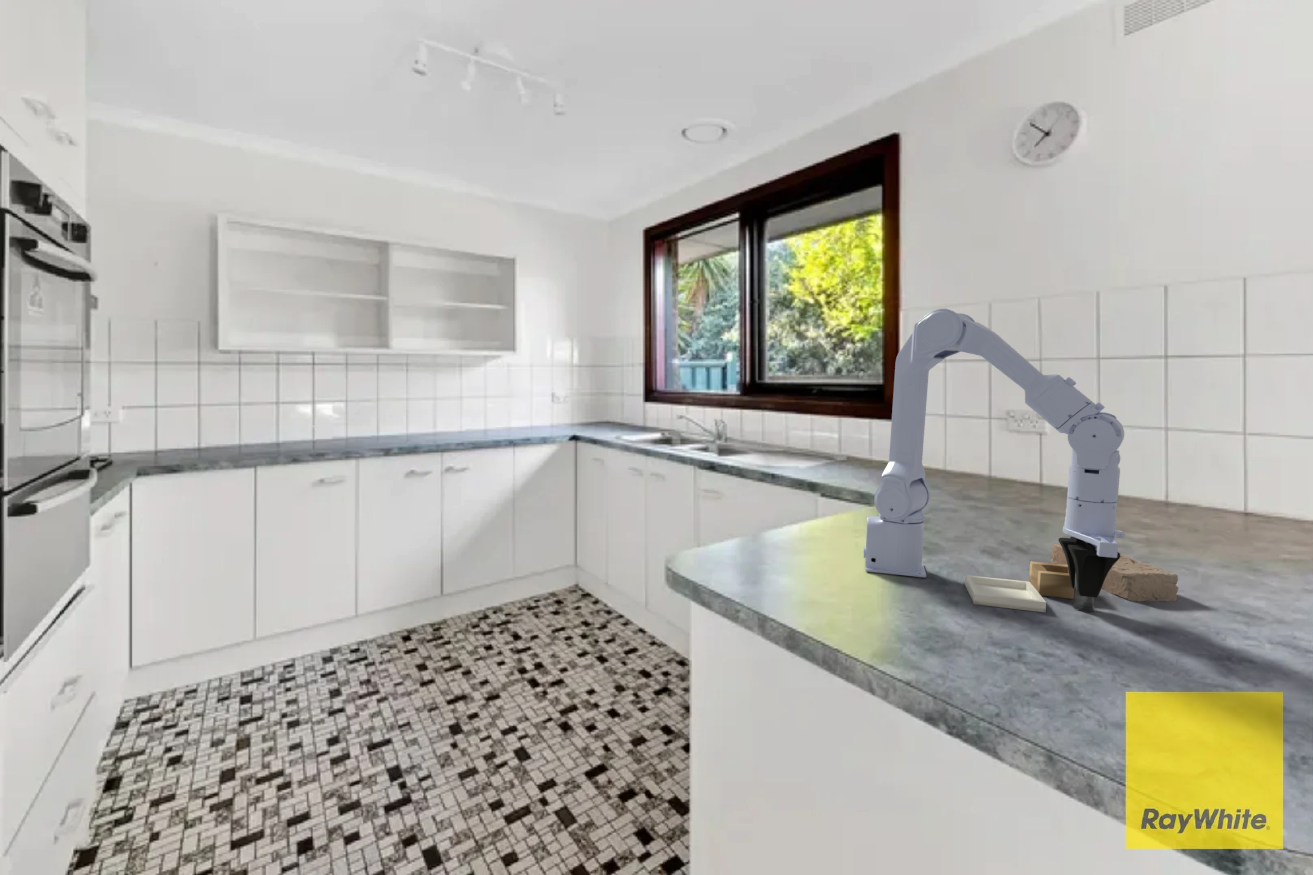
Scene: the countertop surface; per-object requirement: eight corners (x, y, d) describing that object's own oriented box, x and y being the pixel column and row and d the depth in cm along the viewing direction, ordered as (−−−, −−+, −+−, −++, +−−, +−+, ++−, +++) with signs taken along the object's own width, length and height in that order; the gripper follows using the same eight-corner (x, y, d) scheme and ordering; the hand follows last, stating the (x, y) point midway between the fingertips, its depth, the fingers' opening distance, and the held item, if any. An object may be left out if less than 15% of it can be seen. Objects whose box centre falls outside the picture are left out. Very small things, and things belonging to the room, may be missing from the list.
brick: (1181, 602, 88) (1184, 571, 87) (1127, 603, 87) (1130, 572, 87) (1093, 567, 104) (1095, 541, 104) (1047, 568, 104) (1049, 542, 103)
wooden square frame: (1038, 595, 89) (1040, 572, 89) (1028, 582, 95) (1030, 561, 95) (1085, 600, 87) (1087, 577, 87) (1072, 586, 93) (1073, 565, 93)
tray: (973, 604, 86) (974, 594, 86) (964, 583, 94) (964, 574, 94) (1045, 612, 83) (1046, 602, 83) (1028, 590, 91) (1029, 581, 91)
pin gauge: (1076, 610, 83) (1079, 566, 83) (1070, 604, 86) (1073, 561, 85) (1096, 612, 83) (1099, 568, 82) (1090, 606, 85) (1093, 563, 84)
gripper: (1149, 512, 74) (1140, 615, 76) (1105, 491, 88) (1098, 579, 89) (1084, 507, 77) (1076, 608, 78) (1051, 488, 90) (1045, 574, 92)
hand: (1084, 592), depth 84 cm, fingers closed on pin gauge, 2 cm apart
